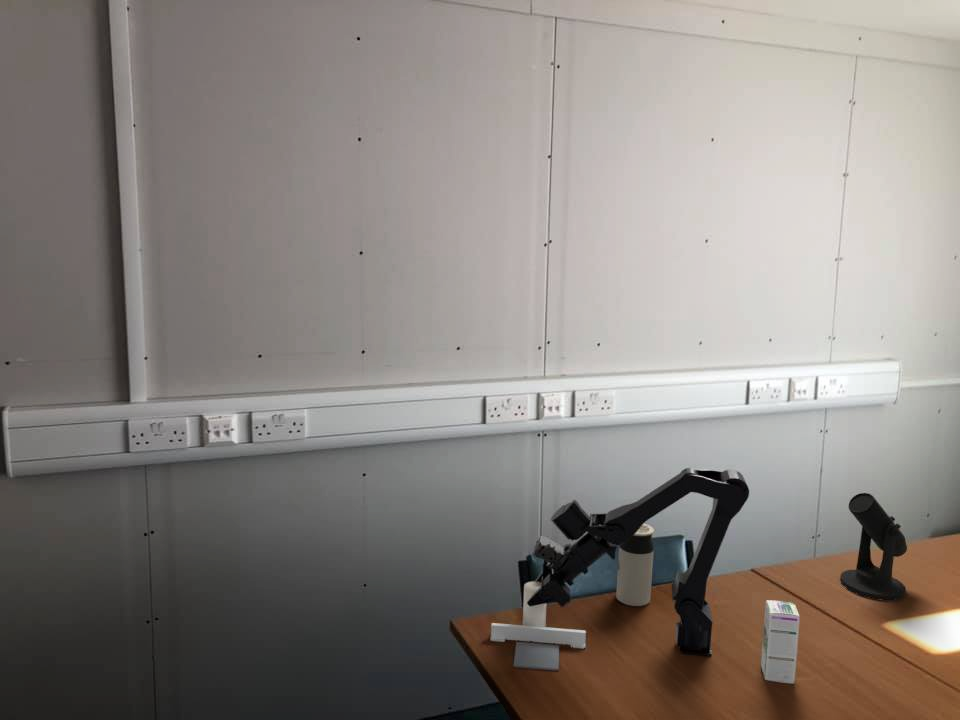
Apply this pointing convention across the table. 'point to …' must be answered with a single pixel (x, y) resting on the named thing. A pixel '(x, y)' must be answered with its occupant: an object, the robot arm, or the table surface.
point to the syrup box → (780, 641)
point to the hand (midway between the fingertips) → (528, 598)
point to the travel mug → (636, 568)
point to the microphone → (885, 536)
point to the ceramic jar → (533, 607)
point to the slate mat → (536, 656)
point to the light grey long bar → (538, 634)
